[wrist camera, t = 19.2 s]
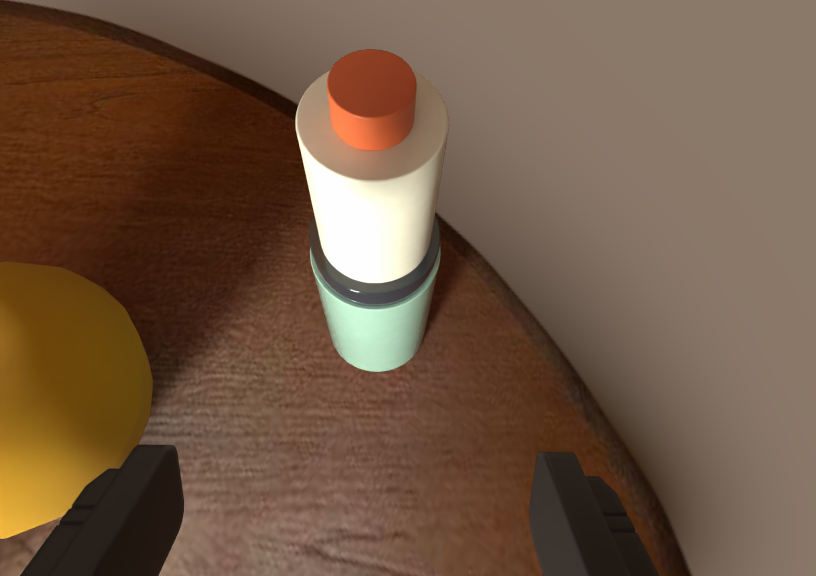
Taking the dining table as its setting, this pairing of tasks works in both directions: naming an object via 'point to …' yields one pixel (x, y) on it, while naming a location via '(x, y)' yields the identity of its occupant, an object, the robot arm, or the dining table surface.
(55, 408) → the apple
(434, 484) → the dining table surface
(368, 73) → the cream bottle
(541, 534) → the robot arm
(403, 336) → the celadon jar
